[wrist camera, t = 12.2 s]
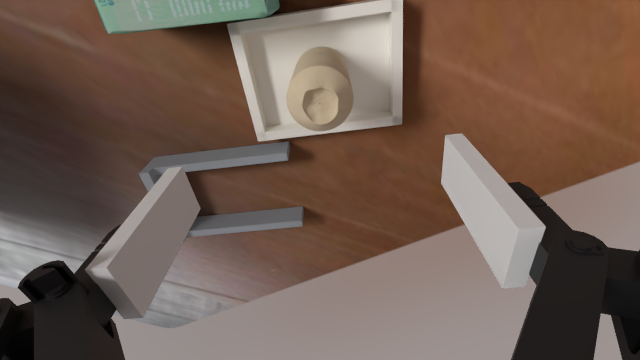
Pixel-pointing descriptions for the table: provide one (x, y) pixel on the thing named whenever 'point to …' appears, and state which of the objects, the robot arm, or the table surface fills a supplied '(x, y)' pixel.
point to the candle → (320, 90)
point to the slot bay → (222, 160)
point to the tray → (333, 32)
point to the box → (177, 13)
